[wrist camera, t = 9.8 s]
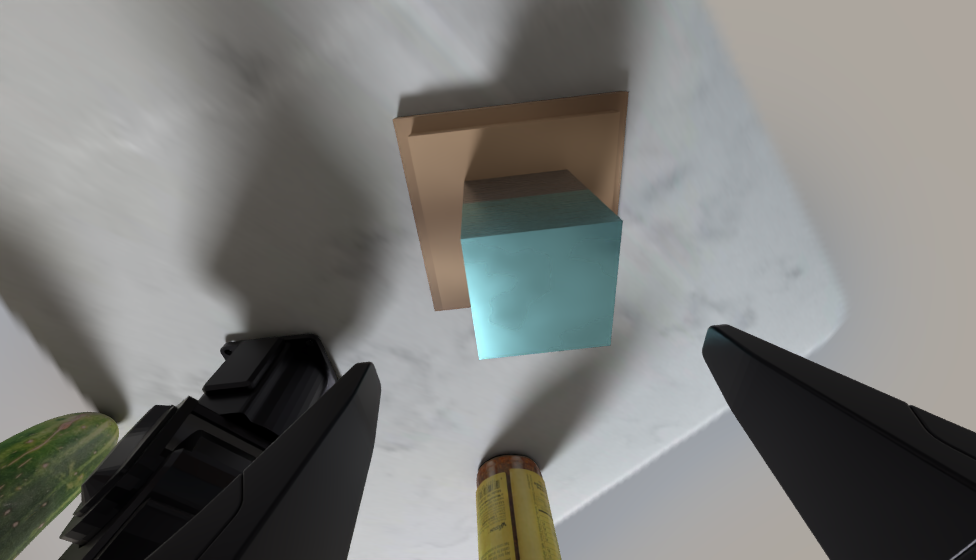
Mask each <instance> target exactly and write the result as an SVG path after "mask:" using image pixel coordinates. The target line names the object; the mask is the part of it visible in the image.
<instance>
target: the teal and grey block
mask: <svg viewBox="0 0 976 560" xmlns="http://www.w3.org/2000/svg"><path fill="white" fill-rule="evenodd" d="M622 223H623V221H622V220H621V219H620V218H619V217H618V216H617V215H616V214H615V213H614V212H613V211H612V210H611V209H609V208H608V207H607V206H606V205H605V204H604V203H603V202H602V201H601V200H600V199H599V198H598V197H597V196H595V195H594V194H593V193H592V192H591V191H590V190H589V189H588V188H587V187H586V186H585V185H584V184H583V183H581V182H580V181H579V180H578V179H577V178H576V177H575V176H574V175H573V174H572V173H571V172H570V171H568V170H567V169H566V170H557V171H549V172H540V173H531V174H523V175H514V176H505V177H497V178H488V179H480V180H471V181H464V190H463V207H462V223H461V246H462V252H463V259H464V265H465V271H466V278H467V284H468V291H469V297H470V304H471V310H472V316H473V323H474V329H475V336H476V342H477V348H478V355H479V360H481V359H490V358H499V357H509V356H518V355H527V354H536V353H546V352H555V351H564V350H573V349H582V348H592V347H601V346H610V344H611V334H612V324H613V314H614V304H615V294H616V284H617V274H618V264H619V253H620V243H621V233H622Z"/></svg>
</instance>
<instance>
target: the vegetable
mask: <svg viewBox="0 0 976 560" xmlns="http://www.w3.org/2000/svg"><path fill="white" fill-rule="evenodd" d="M118 437H119V429H118V426H117V424H116V422H115V421H114V420H113V419H112V418H110V417H109V416H107V415H104V414H101V413H96V412H83V413H74V414H67V415H64V416H60V417H56V418H53V419H50V420H47V421H45V422H43V423H40V424H38V425H35V426H33V427H31V428H29V429H26V430H24V431H23V432H21V433H18V434H16V435H14V436H12V437H10V438H9V439H7V440H5V441H3V442H1V443H0V560H14V559H15V558H16V557H17V556H18V555H19V554H20V553H21V551H23V550H24V548H25V547H26V546H27V545H28V544H29V543H30V542H31V541H32V540H33V539H34V538H35V537H36V536H37V535H38V534H39V533H40V532H41V531H42V530H43V529H44V528H45V527H46V526H47V525H48V524H49V523H50V522H51V521H52V520H53V519H54V518H56V517H57V516H58V515H59V514H60V513H61V512H62V511H63V510H64V509H65V508H66V507H67V506H68V505H69V504H70V503H71V502H72V501H73V500H74V499H75V498H76V497H77V496H78V495H79V494H80V493H81V485H82V484H83V483H84V482H85V480H86V479H87V478H88V477H89V476H90V475H91V473H92V472H93V471H94V470H95V469H96V468H97V466H98V465H99V464H100V463H101V462H102V461H103V459H104V458H105V457H106V456H107V455H108V454H109V452H110V451H111V450H112V449H113V448H114V447H115V446H116V445H117V441H118Z"/></svg>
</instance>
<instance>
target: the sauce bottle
mask: <svg viewBox="0 0 976 560" xmlns="http://www.w3.org/2000/svg"><path fill="white" fill-rule="evenodd" d="M476 508H477V528H478V551H479V560H561V555H560V551H559V546H558V542H557V537H556V533H555V528H554V524H553V519H552V514H551V510H550V505H549V501H548V496H547V491H546V487H545V483H544V480H543V478H542V475H541V472H540V469H539V467H538V466H537V465H536V464H535V463H534V461H533V460H531V459H530V458H528V457H527V456H517V455H502V456H499V457H494V458H493V459H491V460H489V461H487V462H485V463H484V464H483V465H482V466H481V468H480V469H479V470H478V474H477V491H476Z"/></svg>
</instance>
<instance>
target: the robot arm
mask: <svg viewBox="0 0 976 560" xmlns="http://www.w3.org/2000/svg"><path fill="white" fill-rule="evenodd" d="M310 341H312V342H310ZM230 350H231V351H230ZM220 352H221V354H222V355H223V357H224V358H225V360H226V361H225V362H224V363H223V364H222V365H221V366H220V368H219V369H218V370H217V371H216V372H215V373H214V374H213V376H212V377H211V378H210V379H209V380H208V381H207V382H206V384H205V385H204V387H203V388H202V390H203V392H204V394H203V396H202V397H201V398H200V399H199V400H196V399H194V398H192V397H190V396H188V397H187V398H186V399H185V400H183V401H182V402H181V403H180V404H178V405H177V406H174V405H171V406H165V405H155V406H154V407H152V408H151V409H150V410H149V411H148V412H147V413H146V414H145V415H144V416H143V417H142V418H141V419H140V420H139V421H138V422H137V423H136V424H135V425H134V426H133V428H132V429H131V430H130V431H129V432H128V433H127V434H126V435H125V436H124V437H123V438H122V439H121V440H120V441H119V442H118V443H117V445H116V446H115V447H114V448H113V449H112V450H111V451H110V452H109V454H108V455H107V456H106V457H105V458H104V459H103V461H102V462H101V463H100V464H99V465H98V466H97V468H96V469H95V470H94V471H93V472H92V473H91V475H90V476H89V477H88V478H87V479H86V480H85V482H84V483H83V484H82V485H81V495H82V502H81V503H80V505H79V506H78V508H77V509H76V511H75V512H74V514H73V515H74V517H73V518H72V520H71V521H70V522H69V524H68V525H67V526H66V528H65V529H64V531H63V532H62V534H61V535H60V539H63V540H66V541H70V542H72V544H71V546H70V547H69V548H68V549H67V550H66V551H65V552H64V554H63V555H62V556H61V557H60V558H59V559H58V560H347V557H348V552H349V548H350V544H351V540H352V536H353V532H354V528H355V524H356V519H357V515H358V511H359V507H360V503H361V499H362V495H363V491H364V486H365V482H366V478H367V474H368V470H369V466H370V462H371V458H372V453H373V448H374V443H375V436H376V428H377V420H378V412H379V404H380V396H381V383H380V380H379V378H378V375H377V372H376V369H375V366H374V364H373V363H372V362H362V363H357V364H355V365H354V366H353V367H352V368H351V369H350V370H348V371H347V372H346V373H345V374H344V375H343V376H342V377H341V378H340V379H339V380H338V379H337V377H336V374H335V372H334V370H333V368H332V366H331V363H330V361H329V359H328V357H327V354H326V352H325V350H324V348H323V346H322V343H321V341H320V339H319V337H318V336H316V335H314V334H303V335H294V336H285V337H272V338H262V339H253V340H244V341H239V342H230V343H226V344H225V345H224V346H223V347H222V348H221V350H220ZM702 354H703V358H704V360H705V362H706V364H707V365H708V367H709V369H710V371H711V373H712V375H713V377H714V379H715V381H716V383H717V385H718V386H719V388H720V390H721V392H722V394H723V396H724V398H725V400H726V402H727V403H728V405H729V407H730V409H731V410H732V412H733V414H734V415H735V417H736V418H737V420H738V421H739V423H740V424H741V426H742V427H743V429H744V431H745V432H746V433H747V435H748V436H749V438H750V440H751V441H752V442H753V444H754V446H755V447H756V449H757V450H758V452H759V453H760V455H761V456H762V457H763V459H764V461H765V462H766V464H767V465H768V467H769V468H770V470H771V471H772V473H773V474H774V476H775V477H776V479H777V480H778V482H779V483H780V485H781V486H782V488H783V490H784V491H785V493H786V494H787V496H788V497H789V498H790V500H791V501H792V503H793V505H794V506H795V508H796V509H797V510H798V512H799V514H800V515H801V517H802V518H803V520H804V521H805V523H806V524H807V526H808V527H809V529H810V530H811V532H812V533H813V535H814V536H815V538H816V539H817V541H818V542H819V544H820V545H821V547H822V549H823V550H824V552H825V553H826V555H827V556H828V557H829V559H830V560H976V433H975V432H973V431H971V430H968V429H966V428H964V427H961V426H959V425H956V424H954V423H952V422H950V421H947V420H945V419H943V418H940V417H938V416H935V415H933V414H931V413H929V412H926V411H924V410H922V409H920V408H917V407H915V406H913V405H908V404H907V403H905V402H904V401H901V400H899V399H897V398H894V397H892V396H890V395H888V394H885V393H883V392H880V391H878V390H876V389H874V388H872V387H869V386H867V385H865V384H862V383H860V382H858V381H856V380H853V379H851V378H849V377H846V376H844V375H842V374H840V373H837V372H835V371H833V370H830V369H828V368H826V367H824V366H821V365H819V364H817V363H814V362H812V361H810V360H808V359H805V358H803V357H801V356H799V355H796V354H794V353H792V352H789V351H787V350H785V349H783V348H780V347H778V346H776V345H773V344H771V343H769V342H767V341H764V340H762V339H760V338H757V337H755V336H753V335H751V334H748V333H746V332H744V331H741V330H739V329H737V328H735V327H732V326H730V325H727V324H722V325H713V326H710V327H709V328H708V330H707V334H706V337H705V341H704V344H703V348H702Z"/></svg>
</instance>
